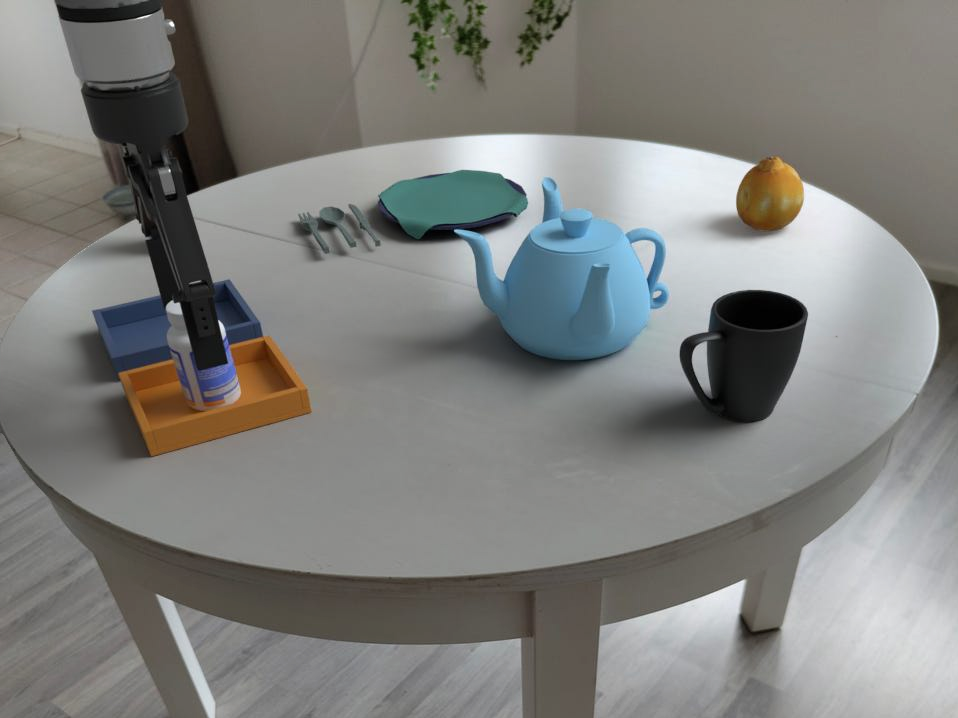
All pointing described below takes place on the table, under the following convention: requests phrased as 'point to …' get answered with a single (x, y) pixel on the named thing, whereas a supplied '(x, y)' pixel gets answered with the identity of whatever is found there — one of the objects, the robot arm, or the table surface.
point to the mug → (747, 352)
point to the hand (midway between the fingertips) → (194, 334)
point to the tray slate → (166, 327)
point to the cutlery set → (435, 204)
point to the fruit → (770, 195)
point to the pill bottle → (203, 385)
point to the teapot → (572, 283)
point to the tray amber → (178, 425)
